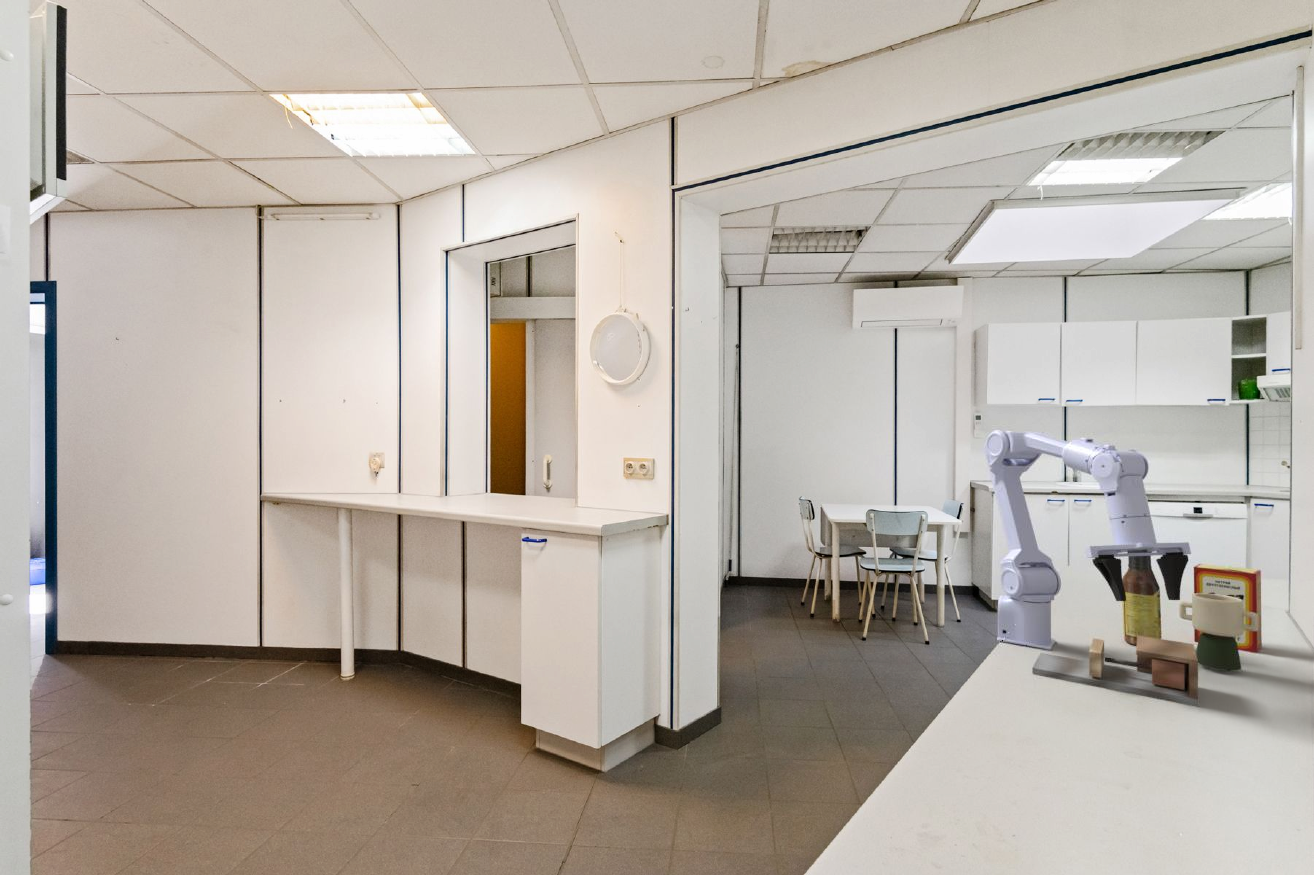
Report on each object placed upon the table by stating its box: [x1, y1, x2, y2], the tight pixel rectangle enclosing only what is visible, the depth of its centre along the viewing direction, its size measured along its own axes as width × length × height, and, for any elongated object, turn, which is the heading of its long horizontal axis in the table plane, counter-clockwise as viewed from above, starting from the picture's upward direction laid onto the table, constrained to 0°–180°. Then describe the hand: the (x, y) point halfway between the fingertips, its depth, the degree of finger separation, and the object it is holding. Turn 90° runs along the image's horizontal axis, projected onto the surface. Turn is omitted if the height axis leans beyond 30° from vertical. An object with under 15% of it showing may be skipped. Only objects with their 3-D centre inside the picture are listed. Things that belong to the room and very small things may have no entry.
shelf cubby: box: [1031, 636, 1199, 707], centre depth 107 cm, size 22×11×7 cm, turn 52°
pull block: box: [1088, 637, 1184, 690], centre depth 104 cm, size 12×10×4 cm
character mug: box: [1178, 593, 1259, 672], centre depth 113 cm, size 11×7×13 cm, turn 36°
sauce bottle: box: [1121, 550, 1162, 647], centre depth 128 cm, size 6×6×20 cm
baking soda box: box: [1193, 563, 1263, 654], centre depth 129 cm, size 10×6×16 cm
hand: (1147, 600), depth 103 cm, fingers open, 7 cm apart
